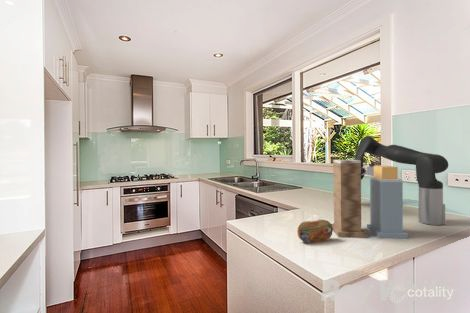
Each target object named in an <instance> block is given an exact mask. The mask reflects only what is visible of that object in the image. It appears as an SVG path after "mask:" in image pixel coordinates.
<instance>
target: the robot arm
mask: <svg viewBox="0 0 470 313" xmlns="http://www.w3.org/2000/svg"><path fill="white" fill-rule="evenodd" d="M357 146H358V147H357V150H356V152H355V156H354V158H353V160H360V161H361V181H362V180H363V179H364V178H365V175H367V167H372V166H375V164H374V162H371V163H370V164H369V165H368V166H364V158H365V153H367V154H369V155H372V156H379V157H381V158H385V159H386V160H389V161H392V162H395V163H399V164H405V165H410V166H411V165H415V176H416V178H415V179H416V181H417V183H418V184H417V185H418V222H419V223H422V224H426V225H431V226H442V225H446V204H445V203H444V183H443V182H442V181H441V180H438V179H437V178H436V174H440V173H443V172H446V171H447V169H448V168H449V162H448V160H447V158H446V157H444V156H443V155H440V154H438V153H437V154H434V153H427V152H423V151H418V150H417V149H416V150H415V149H412V148H409V147H405V146H403V145H398V144H389V145H384V144H382V143H380V142H378V141H377V140H376V139H374V138H373V137H371V136H368V135H367V136H365V137H363V138H361V139H360V141H359V144H358V145H357Z"/></svg>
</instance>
